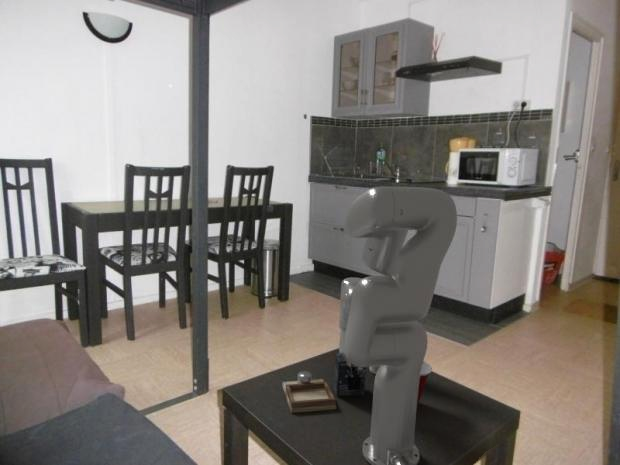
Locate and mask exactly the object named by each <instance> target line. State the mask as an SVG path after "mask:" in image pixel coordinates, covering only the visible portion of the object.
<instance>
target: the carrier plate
mask: <svg viewBox="0 0 620 465" xmlns="http://www.w3.org/2000/svg"><path fill="white" fill-rule="evenodd" d="M312 377H313V375H312V373H311V372H310V371H305V370H302V371H299V372H298V373H297V380H292V381H289V380H288V381H282V382H281V383H282V384H281V385H282V386H281V387H282V389H283V391H284V395H285V398H286V401H287V405H288V408H289V411H290V413H291V414H292V413H296V414H297V413H306V412H316V411H317V412H319V411H331V410H336V409H337V404H336V398H335V396H334V394H333V392H332V391H331V388H330V386H329V384H328V383H327V381H324V379H323V378H320V379H313V378H312Z"/></svg>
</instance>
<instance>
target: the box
mask: <svg viewBox="0 0 620 465" xmlns="http://www.w3.org/2000/svg"><path fill="white" fill-rule="evenodd" d="M334 356H335V358H334V369H333V370H334V371H333V390H334V392H335V394H336V397H338V398H339V397H358V396H360V397H364V395H365V386H366V373H367V367H362V373H361V377H360V389H359V390H348V378H349V376H350V370H349V366H347V364H346V361H345V359H344V358H343V356H342V354H341V353H339V352H336V353H335V355H334ZM351 365H353V364H352V363H351ZM352 369H353V371H354V370H356V367H355V368H352Z"/></svg>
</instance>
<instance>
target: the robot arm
mask: <svg viewBox="0 0 620 465" xmlns="http://www.w3.org/2000/svg"><path fill="white" fill-rule="evenodd" d="M345 217H346V218H345V227H346V228H345V229H346V231H347V233H348V235H349V236H350V237H352V238H354V239H365V242H364V245H363V248H362V251H361V260H362V262H363V263H364V265H366V266H367V267H368V268H369V269H370V270H372V271H374V272H375V273H378V274H381V275H370V276H366V277H364V278H361V277H352V276H350V277H346V278H344V279H343V280H342V281H341V286H340V298H339V299H340V300H339V301H340V303H339V318H338V328H339V329H340V333H339V346H338V348H339V349H338V351H339V352H338V353H341V354H342V356H343V358H344V359H345V361H346V364H347V366H349V370H350V376H349V378H348V390H359V389H360V377H361V373H362V367H366V368H369V367H371V366H380V367H379V369H378V371H377V373H376V374H375V376H374V382H373V392H372V404H371V407H372V408H371V420H370V433H369V434H370V436H368V437H367V438H366V439H364V441H363V443H362V455H363V457H364V459H365V460H366V461H367V462H368V463H369V464H370V465H418V464H419V463H420V451H419V448H418V447H417V446H416V444H415V442H414V441H415V433H416V432H415V430H416V419H417V409H418V407H417V398H418V388H419V379H420V372H421V368H422V364H423V361H425V357H426V355H427V354H426V353H427V350H428V342H429V341H428V333H427V331H426V329H425V328H424V326H423V325H422V324H421V323H420V322H419V321H421V320H422V319H424V318H425V317H426V316H427V315H428V312H429V310H430V308H431V304H432V301H433V297H434V294H435V289H436V285H437V282H438V278H439V274H440V270H441V265H442V263H443V261H444V259H445V257H446V254H447V252H448V250H449V249H450V246H451V244H452V243H453V239H454V238H455V234H456V231H457V230H456V229H457V227H458V226H457V222H458V210H457V207H456V203H455V201H454V199H453V197H451V195H450V194H448V193H447V192H445V191H443V190H440V189H437V188H431V187H423V186H421V187H419V186H375V187H371V188H369V189H368V190H366V191H365V192H363V193H362V194H361V195H359V196H358V197H357V198H355V199H354V200H353V201H352V202H351V204H350V206H349V208H348V210H347V213H346V216H345ZM409 231H416V233H415V234H414V235H413V236H412V237H410V239H409V240H407V242H406V243H405V241H406V238H407V236H408V233H409ZM404 243H405V244H404ZM351 363H352V364H353V365H351ZM355 367H356V370H354V371H353V369H352V368H355Z"/></svg>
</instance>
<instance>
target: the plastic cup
mask: <svg viewBox="0 0 620 465" xmlns="http://www.w3.org/2000/svg"><path fill="white" fill-rule="evenodd" d="M432 370H433V368H432V366H431V365H430V364H429V363H428V362H427V361H426V360H423V364H422V368H421V372H420V379H419V388H418V398H417V408H418V407H419V404H420V400H421V397H422V394H423V390H424V387H425V384H426V381H427V379H428V377H429V375H430V374H431V373H432Z"/></svg>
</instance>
